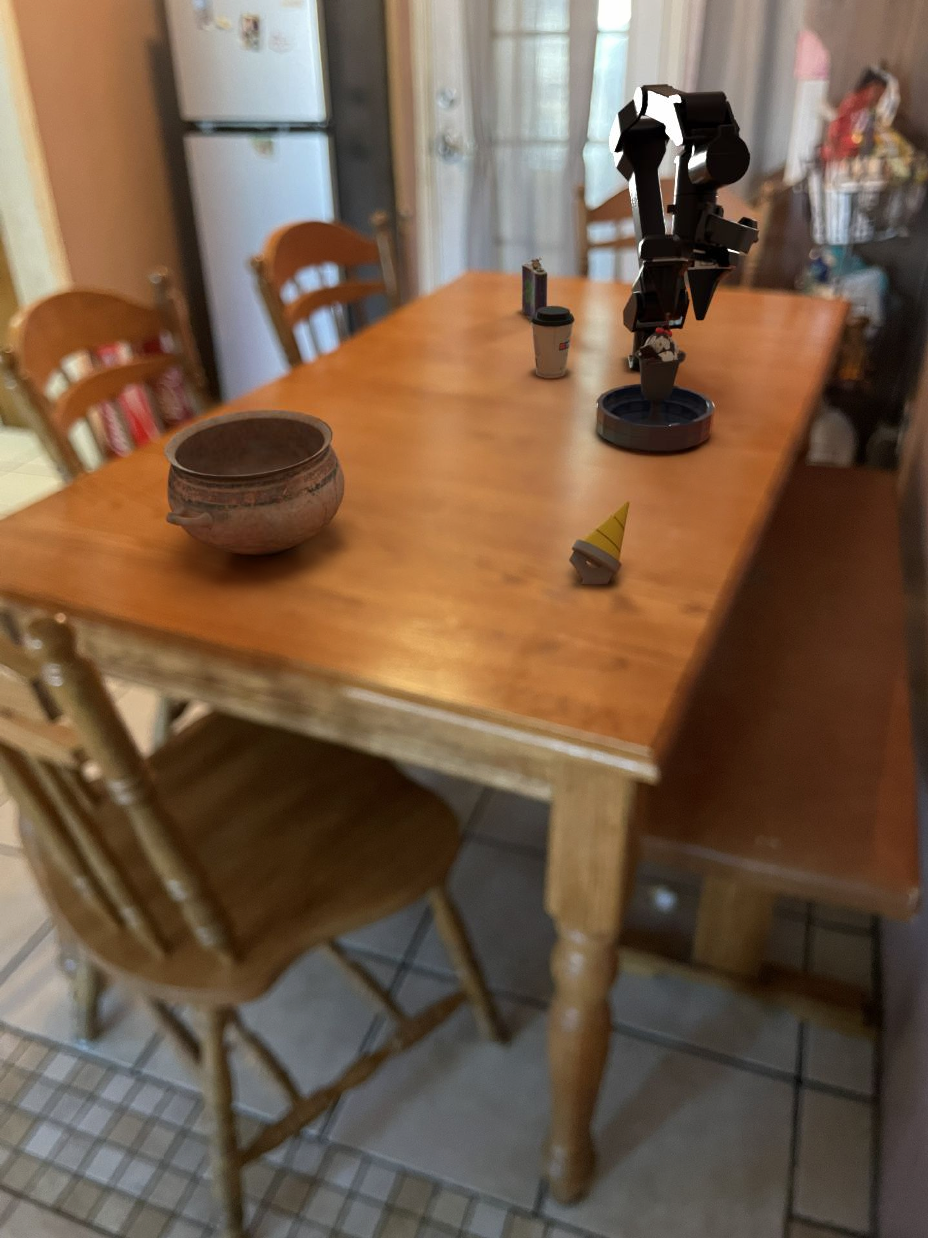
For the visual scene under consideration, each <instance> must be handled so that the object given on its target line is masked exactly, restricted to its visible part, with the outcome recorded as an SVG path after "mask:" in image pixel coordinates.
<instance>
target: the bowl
mask: <svg viewBox="0 0 928 1238" xmlns="http://www.w3.org/2000/svg"><path fill="white" fill-rule="evenodd" d="M650 411H651V403H650V402H649V401H648V400H647V399H646V398H645V397H644V395H643V394H642V390H641V383H636V384H635V383H633V384H628V385H626V384H625V385H622V386H618V387H614V388H611V389H609V390H607V391H605V392H603V393H601V394H600V395H599V397H598V398H597V399H596V406H595V420H594V421H595V431H596V432H597V433H598V434H599V435H600V436H601V437H602V438H603V439H605V440H607V441H609V442H610V443H612V444H613V445H615V446H618V447H620V448H623V449H627V450H631V451H635V452H642V453H651V454H652V453H653V454H657V453H659V454H660V453H661V454H662V453H664V454H665V453H673V452H680V451H685V450H688V449H690V448H692V447H695V446H698V445H700V444H701V443H703V442H705V441H706V440H707V439H709V438H710V436H711V434H712V432H713V426H714V417H715V411H716V407H715V404H714V402H713V400H712V399H711V398H709V397H708V396H707V395H705V394H704V393H701V392H700V391H697V390H694V389H693V388H687V387H683V386H679V385H675V384H674V387H673V390H672V393H671V395H670V396H669V397H668V398H667V399H666V400H665V401H663V402H662V403H661V404H660V406H659V418H660V420H664V421H666V422H668V423H669V424H650V423H642V422H638V421H640V420H644V419H647V418H648V417H649V415H650Z"/></svg>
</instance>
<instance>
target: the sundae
mask: <svg viewBox="0 0 928 1238" xmlns="http://www.w3.org/2000/svg"><path fill="white" fill-rule="evenodd" d="M667 316H668V330H665V331H664V329H663V328H662V327H663V326H664V325H665V323H666V321H667ZM669 316H670V313H666V321H665V323H664V324H663V325H662V327H660V328H657V329H656V330H655V333H654V334H653V335H651V336H650V337H649V338H648V339H647V341H646V344H645V346H643V347H640V348H639V350H638V351H637V352H636V353H635V356H636V357H637V358H638V359H639V363H640V371H639V375H640V379H639V381H640V384H641V390H642V394H643V395H644V397H645V398H646V399H647V400H648V401H649V402H650V403H651V411H650V415H649V417H648V418H647V419H644V420H640V421H638V422H642V423H650V424H669V423H668V422H666V421H664V420H660V418H659V406H660V404H661V403H662V402H663V401H665V400H666V399H667V398H668V397H669V396H670V395H671V393H672V390H673V387H674V385H675V383H676V378H677V375H678V371H679V367H680V364H681V363H683V362H685V360H686V357H687V354H686V352H685V351H683V350H680V349H679V345H678V343H677V342H676V341H675V339H673V338H672V337H673V332H672V330H671V331H670V325H669Z"/></svg>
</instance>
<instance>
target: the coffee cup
mask: <svg viewBox="0 0 928 1238" xmlns="http://www.w3.org/2000/svg"><path fill="white" fill-rule="evenodd" d="M575 320H576V319H575V317H574V315H573V313H571V310H570V308H567V307H563V306H560V305H547V306H545V307H541V308H539V309H538V310H537V313H534V314H533V315H532V316H531V318H529V321H530V323H531V333H532V342H533V343H532V344H533V353H534V365H535V372H536V375H537V377H540V378H543V379H544V378H545V379H556V378H561V377H564V376H565V375H566V369H567V364H568V357H569V350H570V343H571V338H572V331H573V324H574V323H575Z"/></svg>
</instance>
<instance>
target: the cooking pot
mask: <svg viewBox="0 0 928 1238" xmlns="http://www.w3.org/2000/svg"><path fill="white" fill-rule="evenodd" d="M333 433H334V432H333V430H332V428H331V426H330V425H329V424H328V423H327V422H325V420H322V419H321V418H319V417H317V416H314V415H312V414H308V413H304V412H300V411H294V410H286V409H285V410H284V409H254V410H252V409H251V410H244V411H243V410H241V411H236V412H235V411H234V412H230V413H225V414H220V415H217V416H213V417H210V418H207V419H203V420H201V421H198V422H195V423H192V424H191V425H187V426H186V427H185V428H183V429H180V430H179V431H177V432H176V433H174V435H172V436H171V437H170V439H169V440H168V441H167V443H166V445H165V447H164V456H165V458H166V460H167V461H168V462H169V463H170V465H169V469H168V475H167V476H168V477H167V503H168V506H169V509H170V510H171V511H170V512H168V513H167V514H166V516H165V521H166V522H167V523H169V524H171V525H174V526H178V527H181V528H182V529H183V530H184V531H185V532H186V533H187V534H188V535H189V536H190V537H191V538H193V539H195V540H196V541H198V542H200V543H201V544H203V545H205V546H207V547H210V548H212V549H216V550H219V551H223V552H228V553H233V554H240V555H246V556H252V557H267V556H273V555H277V554H280V553H283V552H285V551H287V550H289V549H291V548H293V547H296V546H298V545H300V544H302V543H304V542H306V541H308V540H310V539H311V538H313V537H314V536H316V535H317V534H319V533H320V532H321V531H322V530H324V529H325V528H326V527H327V526H328V525H329V523H330V522H332V520H333V519H334V518H335V516H336V515H337V513H338V511H339V508H340V506H341V505H342V501H343V498H344V495H345V475H344V471H343V468H342V466H341V462H340V461H339V458H338V456H337V454H336V451H335V449H334V448H333V445H332V444H331V443H332V440H333Z"/></svg>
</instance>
